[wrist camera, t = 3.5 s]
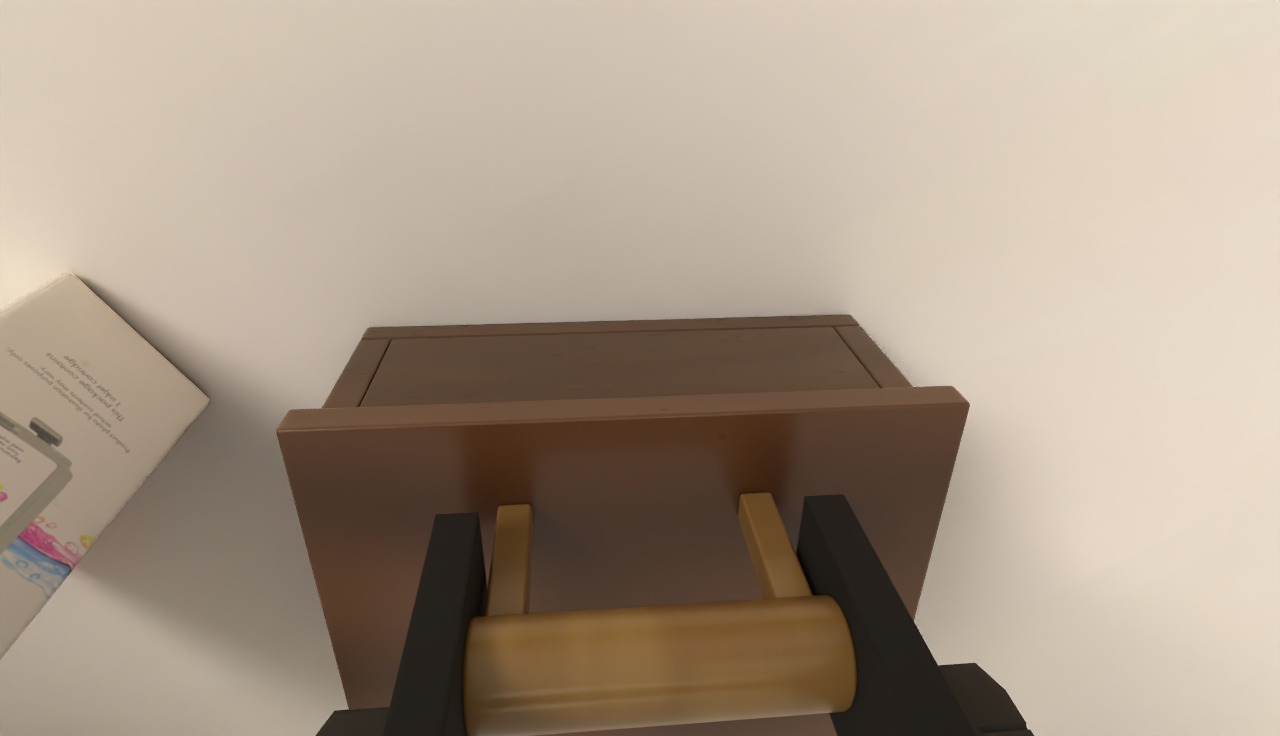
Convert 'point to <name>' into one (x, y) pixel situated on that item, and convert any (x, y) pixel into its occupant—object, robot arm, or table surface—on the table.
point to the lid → (622, 548)
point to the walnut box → (610, 360)
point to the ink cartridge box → (74, 434)
